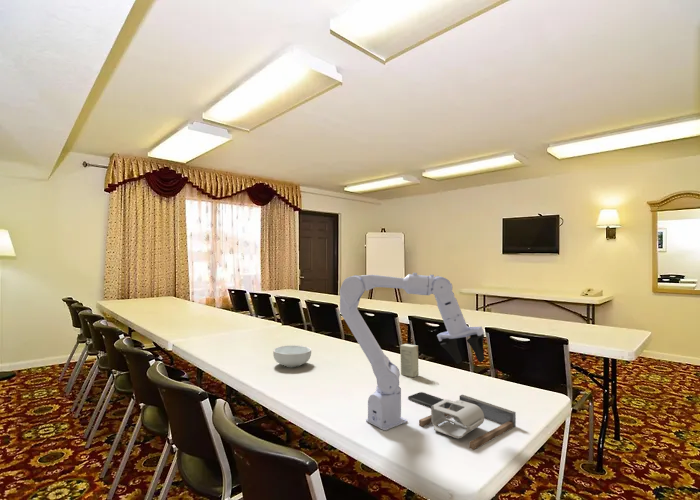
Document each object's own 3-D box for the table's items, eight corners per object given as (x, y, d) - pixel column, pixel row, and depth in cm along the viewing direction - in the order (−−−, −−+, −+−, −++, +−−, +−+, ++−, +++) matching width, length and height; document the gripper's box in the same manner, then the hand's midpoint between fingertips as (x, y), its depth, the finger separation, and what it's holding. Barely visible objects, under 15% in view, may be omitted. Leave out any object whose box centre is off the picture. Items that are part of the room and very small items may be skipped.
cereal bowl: (285, 373, 152) (285, 355, 152) (266, 364, 164) (266, 348, 164) (318, 365, 163) (318, 349, 163) (298, 358, 175) (298, 343, 176)
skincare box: (418, 375, 150) (418, 345, 150) (413, 377, 146) (413, 347, 147) (405, 372, 154) (405, 343, 154) (399, 374, 151) (399, 344, 151)
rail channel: (473, 450, 90) (473, 433, 90) (419, 425, 104) (419, 410, 104) (515, 426, 103) (515, 412, 103) (462, 407, 117) (462, 394, 117)
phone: (444, 410, 112) (406, 396, 124) (444, 414, 112) (406, 400, 123) (458, 404, 117) (421, 391, 129) (458, 407, 117) (421, 394, 129)
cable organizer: (448, 395, 110) (426, 405, 101) (488, 406, 101) (467, 419, 92) (448, 417, 109) (426, 430, 101) (489, 430, 101) (468, 446, 92)
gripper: (480, 307, 102) (499, 353, 101) (440, 315, 113) (457, 357, 111) (467, 316, 97) (487, 364, 96) (427, 323, 108) (444, 367, 107)
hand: (470, 361), depth 103 cm, fingers open, 7 cm apart
